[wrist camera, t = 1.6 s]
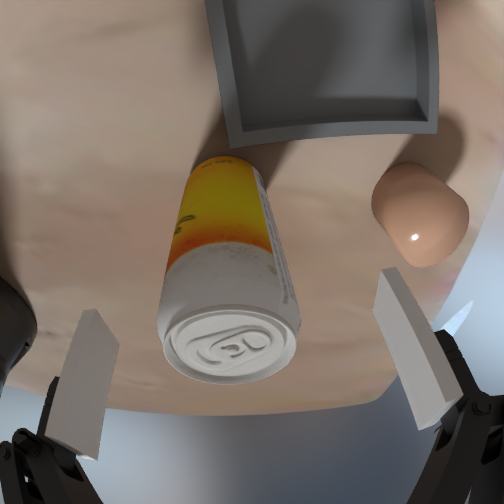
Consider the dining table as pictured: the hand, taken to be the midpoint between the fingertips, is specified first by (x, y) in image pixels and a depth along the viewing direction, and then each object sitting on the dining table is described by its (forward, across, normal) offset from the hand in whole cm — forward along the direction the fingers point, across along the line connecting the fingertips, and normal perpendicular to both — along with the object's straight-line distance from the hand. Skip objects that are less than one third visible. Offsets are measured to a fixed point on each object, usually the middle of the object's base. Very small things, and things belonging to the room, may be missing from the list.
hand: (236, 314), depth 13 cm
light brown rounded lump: (+13, +15, -3) cm, 20 cm away
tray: (+13, +8, +12) cm, 20 cm away
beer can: (+13, -1, 0) cm, 13 cm away
